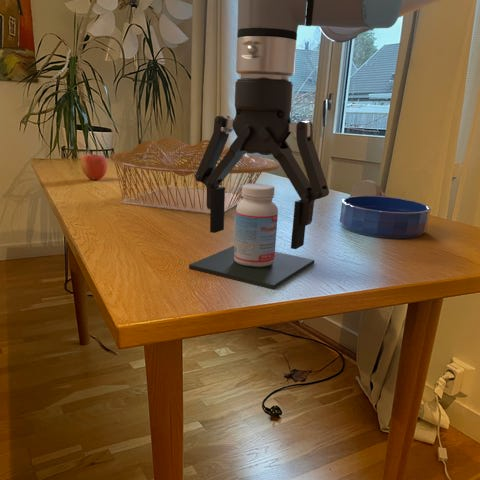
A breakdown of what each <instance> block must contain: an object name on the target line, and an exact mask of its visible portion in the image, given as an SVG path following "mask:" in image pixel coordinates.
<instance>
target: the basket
mask: <svg viewBox="0 0 480 480" xmlns="http://www.w3.org/2000/svg"><path fill="white" fill-rule="evenodd" d="M209 142H210V139H204V140H201V141H200V142H198V143H197V144H194V145H191V144H188V143H185V142H182V141H180V140H178V139H175V138H171V137H165V138H161V139H158V140H157V141H153V140H144V141H142V142H141V143H139V144H137V146H135V147H134V148H133V149H132V150H127V151H121V152H120V151H119V152H116V153H115V152H114V153H112V154H110V155H109V159H110V161H111V162H112V163H114V167H115V170H116V176H117V179H118V184H119V188H120V193H121V199H122V201H121V204H126V205H134V206H141V207H142V206H143V207H149V208H150V207H151V208H159V209H165V210H166V209H167V210H175V211H184V212H193V213H198V214H199V213H200V214H208V215H210V209H208V208H207V190H205V187H206V185H205V184H203V183H202V182H201V189H199V187H198V186H199V182H198V181H196V179H195V178H194V176H195V175H196V173H197V170H198V168H199V166H200V163H201V161H202V158H203V156H204V154H205V151H206V149H207V146H208V144H209ZM229 148H230V147H229V146H226V145H225V146H224V148H223V151H222V153H221V155H220V157H219V160H218V162H217V164H216V165H218V164H219V163H220V161H221V160H222V159H223V157H224V156H225V155H226V153H227V152H228V151H229ZM143 156H144V157H143ZM150 156H151V157H150ZM186 157H187V158H186ZM280 166H281V165H280V164H279V162H278V160H273V159H270V158H265V157H260V156H253V155H247V154H246V153H245V154H244V155H243V156H242V157H241V159H240V160H239V161H238V162H237V164H236V165H235V166H234V167H233V169H232V170H231V171H230V172H229V174H228V175H229V176H228V179H227V181H226V184H225V179H224V180H223V181H222V183H221V184H222V185H220V187H225V190H226V188H227V186H228V183H229V188H231V189H230V192H229V193H228V192H225V204H224V213H226V212H228V211H229V210H231V209H233V208H235V207H237V205H238V203H239V202H241V201H242V200H243V199H244V197H243V196H242V195H243V194H242V186H243V185H244V184H256V182H257V180H258V179H259V177H260V176H261V174H262V173H266V172H273V171H276V170H278V169H279V168H280ZM215 168H216V167H215ZM139 170H140V172H141V173H140V172H139ZM145 172H146V173H147V175H146V173H145ZM150 172H151V174H152V176H151V175H150ZM140 174H141V175H140ZM232 174H236V177H235V180H234V182H233V185H232V177H231V176H232ZM239 174H241V175H240V176H239ZM247 174H248V175H247ZM147 176H148V177H147ZM161 176H162V177H161ZM179 176H180V177H181V178H180V179H181V180H180V181H181V187H179V186H178V181H177V180H178V177H179ZM190 176H191V179H190ZM238 176H239V178H238ZM152 177H153V179H152ZM186 177H188V178H187V179H188V180H186ZM148 178H149V179H148ZM172 178H173V180H174V185H172ZM193 178H194V183H193V187H191V184H192V180H193ZM162 179H163V181H162ZM237 179H238V181H237ZM242 179H243V180H242ZM144 180H145V181H144ZM153 180H154V182H155V184H156V186H157V187H155V185H154V182H153ZM229 180H230V181H229ZM236 181H237V184H236ZM241 181H242V182H241ZM145 182H146V184H147V186H148V188H149V191H148V189H147V187H146V185H145ZM140 183H141V184H140ZM163 183H164V187H163ZM240 183H241V184H240ZM235 184H236V187H235V189H234V186H235ZM239 185H240V186H239ZM138 186H139V187H138ZM231 186H232V187H231ZM142 187H143V188H142ZM134 188H135V189H136V193H135V190H134ZM139 188H140V189H139ZM156 188H157V190H156ZM233 189H234V191H233ZM140 190H141V192H142V194H141V192H140ZM232 192H233V193H232ZM128 193H129V194H128ZM129 195H130V197H129ZM132 195H133V197H132Z"/></svg>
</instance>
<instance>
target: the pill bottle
mask: <svg viewBox="0 0 480 480" xmlns="http://www.w3.org/2000/svg"><path fill="white" fill-rule="evenodd" d="M242 185H243V184H242ZM242 185H241V187H242V191H241V192H242V194H243V195H242V196H243V197H244V199H243V200H242V201H241V202H238V205H237V206H236V209H235V225H234V230H235V231H234V246H235V247H234V260H235V261H236V262H237V263H238V264H240V265H244V266H251V267H265V266H269V265H271V264H272V263H273V262H274V257H275V252H276V245H277V243H276V242H277V229H278V215H279V209H278V206H277V204H276V203H275V202H274V201H273V199H274V198H275V197H274V196H275V190H276V189H275V186H274V185H271V184H265V183H255V184H247V183H245V184H244V185H243V186H242Z"/></svg>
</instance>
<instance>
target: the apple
mask: <svg viewBox="0 0 480 480" xmlns="http://www.w3.org/2000/svg"><path fill="white" fill-rule="evenodd" d="M80 168H81V170H82V172H83V174H84V175H85V177H87V179H89V180H92V179H93V180H96V181H99V180H101V179H102V178H103V177H104V176H106V173H107V171H108V160H107V158H106V157H105V156H103V155H99V149H97V150H96V154H89V153H88V154H84V155H82V156H81V157H80Z"/></svg>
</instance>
